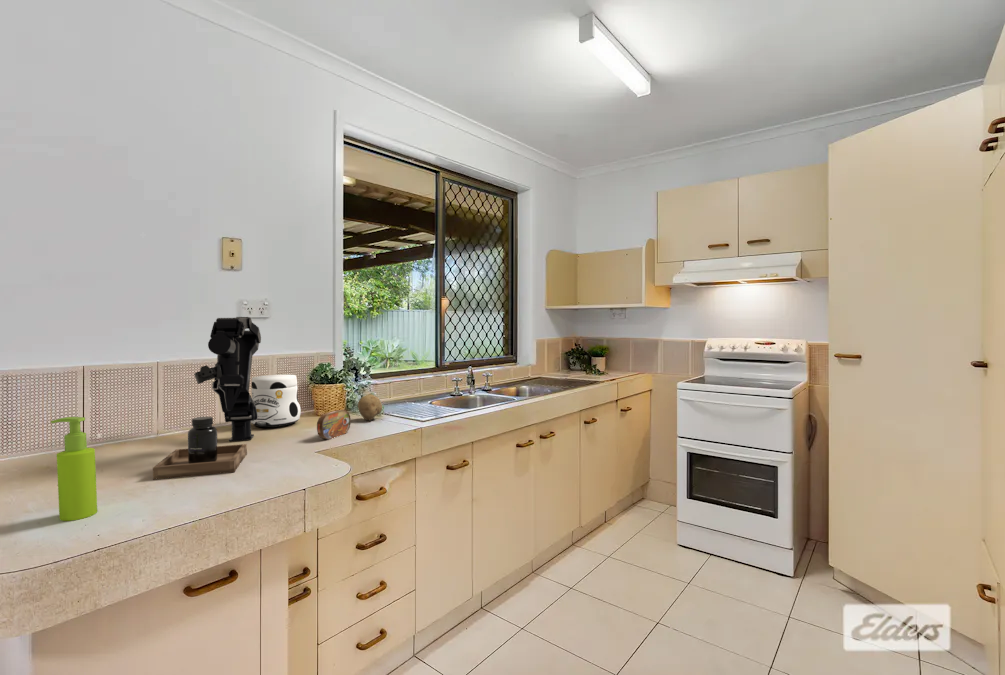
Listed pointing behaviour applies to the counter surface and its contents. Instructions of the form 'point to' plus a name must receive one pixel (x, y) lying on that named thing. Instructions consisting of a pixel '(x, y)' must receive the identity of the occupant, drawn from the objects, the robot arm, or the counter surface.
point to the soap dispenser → (76, 474)
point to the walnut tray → (180, 466)
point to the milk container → (275, 400)
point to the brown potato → (369, 406)
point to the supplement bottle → (202, 441)
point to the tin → (333, 424)
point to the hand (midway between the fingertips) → (226, 411)
